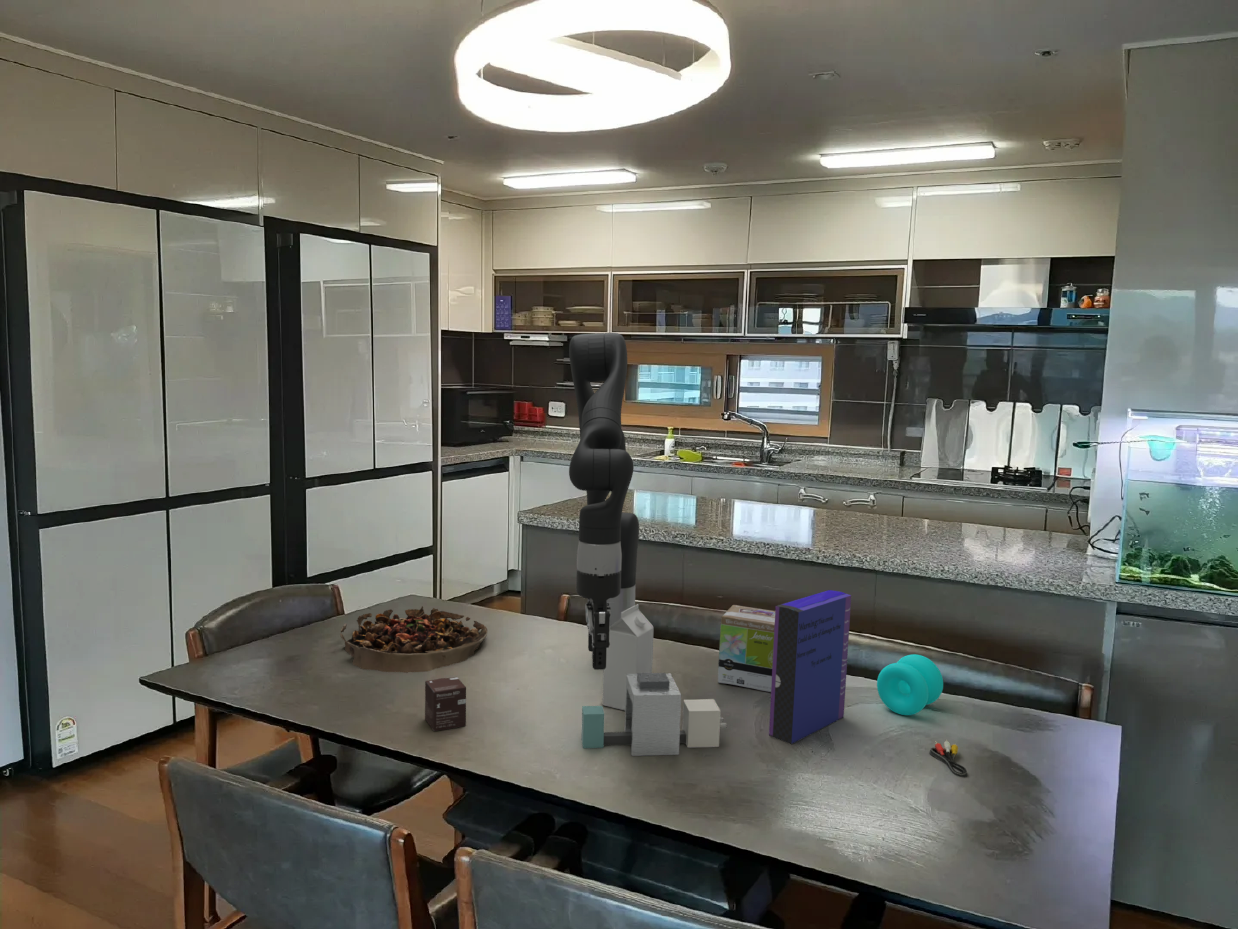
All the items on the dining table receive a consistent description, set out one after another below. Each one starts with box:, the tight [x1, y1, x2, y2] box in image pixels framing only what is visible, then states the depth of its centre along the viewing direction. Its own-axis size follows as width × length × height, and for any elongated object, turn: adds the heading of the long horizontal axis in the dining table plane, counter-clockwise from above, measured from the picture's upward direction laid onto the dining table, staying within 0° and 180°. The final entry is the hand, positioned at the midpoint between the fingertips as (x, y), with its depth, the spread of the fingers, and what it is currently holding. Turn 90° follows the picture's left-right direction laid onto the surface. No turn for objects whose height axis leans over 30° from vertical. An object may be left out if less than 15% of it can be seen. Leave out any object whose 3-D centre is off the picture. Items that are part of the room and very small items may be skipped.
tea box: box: [717, 604, 775, 693], centre depth 173 cm, size 15×10×15 cm, turn 68°
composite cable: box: [928, 739, 968, 778], centre depth 140 cm, size 10×5×2 cm, turn 171°
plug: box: [580, 698, 728, 749], centre depth 144 cm, size 5×25×6 cm, turn 97°
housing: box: [623, 672, 682, 757], centre depth 143 cm, size 10×8×12 cm
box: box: [424, 676, 467, 732], centre depth 149 cm, size 6×6×7 cm
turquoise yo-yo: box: [876, 653, 944, 716], centre depth 162 cm, size 10×10×10 cm
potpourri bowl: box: [339, 605, 488, 674], centre depth 190 cm, size 35×33×8 cm
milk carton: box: [601, 603, 655, 711], centre depth 160 cm, size 7×7×19 cm
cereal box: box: [768, 589, 852, 746], centre depth 151 cm, size 17×5×24 cm, turn 134°
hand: (596, 659), depth 141 cm, fingers open, 8 cm apart
